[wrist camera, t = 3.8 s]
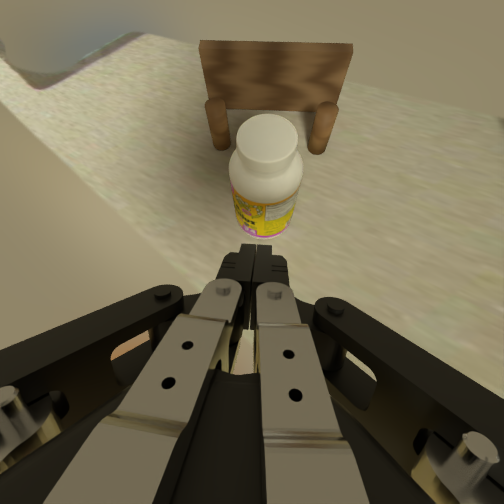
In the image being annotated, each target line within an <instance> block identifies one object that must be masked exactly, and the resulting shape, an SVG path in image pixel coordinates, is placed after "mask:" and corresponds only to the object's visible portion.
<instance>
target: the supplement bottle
mask: <svg viewBox="0 0 504 504" xmlns="http://www.w3.org/2000/svg"><path fill="white" fill-rule="evenodd" d="M236 144H237V148H236V149H235V151H234V152H233V154H232V156H231V159H230V162H229V177H230V182H231V188H232V194H233V200H234V206H235V212H236V217H237V221H238V224H239V226H240V227H241V229H242V230H243V231H244V232H245V233H246V234H248V235H249V236H251V237H254V238H257V239H271V238H274V237H277V236H278V235H280V234H281V233H283V232H284V231H285V230H286V228H287V227H288V225H289V223H290V221H291V217H292V214H293V210H294V206H295V202H296V198H297V195H298V191H299V187H300V184H301V180H302V176H303V161H302V158H301V155H300V153H299V151H298V150H297V144H298V134H297V131H296V129H295V127H294V125H293V124H292V123H291V122H290V121H288V120H287V119H286V118H284V117H282V116H279V115H275V114H260V115H256V116H253V117H251V118H249V119H248V120H246V121H245V122H244V123H243V124H242V125H241V126H240V128H239V129H238V132H237V136H236Z"/></svg>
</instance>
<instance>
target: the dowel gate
mask: <svg viewBox="0 0 504 504" xmlns="http://www.w3.org/2000/svg"><path fill="white" fill-rule="evenodd" d="M205 110H206V114H207V118H208V123H209V127H210V131H211V136H212V140H213V145H214V147H215V148H216V149H218V150H226V149H228V148H229V147H230V145H231V141H230V134H229V127H228V120H227V113H226V106H225V102H224V100H223V99H221V98H217V97H215V98H211V99H209V100H207V101H206V103H205ZM338 111H339V108H338V106H337V105H336V104H335V103H333V102H329V101H325V102H322V103H320V104H319V105H318V107H317V111H316V115H315V119H314V123H313V127H312V131H311V135H310V139H309V143H308V150H309V152H311V153H312V154H315V155H319V154H322V153H323V152H324V151H325V149H326V146H327V143H328V140H329V137H330V134H331V132H332V129H333V126H334V123H335V120H336V117H337V114H338Z"/></svg>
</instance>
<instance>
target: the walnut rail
mask: <svg viewBox="0 0 504 504" xmlns="http://www.w3.org/2000/svg"><path fill="white" fill-rule="evenodd" d="M198 49H199V54H200V58H201V63H202V68H203V73H204V78H205V83H206V88H207V92H208V97H209V99H211V98H215V97H217V98H221V99H223V100H224V102H225V106H226V109H252V110H279V111H306V112H316V111H317V107H318V105H319V104H320V103H322V102H325V101H329V102H333V103H335V104H337V101H338V98H339V95H340V92H341V89H342V86H343V82H344V79H345V76H346V73H347V70H348V67H349V64H350V61H351V58H352V54H353V44H344V43H341V44H340V43H301V42H258V41H215V40H200V44H199V48H198Z"/></svg>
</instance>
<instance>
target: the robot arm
mask: <svg viewBox="0 0 504 504" xmlns="http://www.w3.org/2000/svg"><path fill="white" fill-rule="evenodd" d="M250 313H251V320H250ZM249 321H250V330H254V343H253V362H254V363H253V372H254V373H252V374H244V375H234V374H233V371H234V367H235V363H236V359H237V355H238V351H239V347H240V338H241V336H242V332H243V329H247V330H248V329H249ZM147 330H148V332H149V338H150V340H148V341H146V342H144V343H142V344H141V345H139V346H137V347H135V348H134V349H132V350H130V351H128V352H126V353H125V354H123V355H121V356H119V357H117V358H115V359H114V360H112V361H111V359H110V358H111V354H112V352H113V351H114V349H115V348H116V347H118V346H119V345H120V344H122V343H124V342H126V341H128V340H130V339H132V338H134V337H136V336H137V335H139V334H141V333H143V332H145V331H147ZM347 351H349V352H350V353H351V354H353V355H354V356H355V357H356V358H358V359H359V360H360V361H361V362H363V363H364V364H365V365H366V366H368V367H369V368H370V369H371V370H372V372H373V373H374V375H375V377H376V380H377V382H376V381H375V380H374V379H372V378H371V377H370V376H369V375H368V374H366V373H365V372H364V371H363V370H361V369H360V368H359V367H358V366H357V365H355V364H354V363H353V362H352V361H350V360H349V359H348V358H347V357H346V353H347ZM329 394H330V395H331V396H332V397H331V396H330V395H329ZM0 504H504V399H502V398H501V397H499V396H498V395H496V394H494V393H493V392H491V391H489V390H488V389H486V388H485V387H483V386H481V385H480V384H478V383H477V382H475V381H473V380H472V379H470V378H469V377H467V376H465V375H464V374H462V373H461V372H459V371H457V370H456V369H454V368H452V367H451V366H449V365H448V364H446V363H444V362H443V361H441V360H440V359H438V358H436V357H435V356H433V355H432V354H430V353H428V352H427V351H425V350H424V349H422V348H420V347H419V346H417V345H416V344H414V343H412V342H411V341H409V340H407V339H406V338H404V337H403V336H401V335H399V334H398V333H396V332H395V331H393V330H391V329H390V328H388V327H387V326H385V325H383V324H382V323H380V322H379V321H377V320H375V319H374V318H372V317H371V316H369V315H367V314H366V313H364V312H362V311H361V310H359V309H358V308H356V307H354V306H353V305H351V304H350V303H348V302H346V301H344V300H342V299H339V298H334V297H324V298H320V299H318V300H317V301H316V303H315V305H312V304H309V303H305V302H303V301H300V300H299V299H297V298H295V297H294V293H293V291H292V289H291V288H290V286H289V277H288V268H287V261H286V259H285V258H284V257H283V256H280V255H272V245H258V244H257V251H256V244H241V248H240V251H239V253H234V252H230V253H229V254H227V255H226V256H225V257H224V259H223V262H222V264H221V268H220V269H219V272H218V274H217V277H216V279H215V280H213V281H211V282H209V283H208V284H207V285H206V286H205V288H204V290H203V291H202V293H199V294H194V295H186V296H183V291H182V289H181V288H180V287H178V286H175V285H159V286H156V287H153V288H151V289H148V290H145V291H143V292H141V293H138V294H136V295H134V296H131V297H129V298H126V299H124V300H121V301H119V302H116V303H114V304H112V305H109V306H107V307H104V308H102V309H100V310H97V311H94V312H92V313H90V314H87V315H85V316H82V317H80V318H78V319H75V320H73V321H70V322H68V323H65V324H63V325H60V326H58V327H56V328H53V329H51V330H48V331H46V332H44V333H41V334H39V335H36V336H34V337H31V338H29V339H26V340H24V341H22V342H19V343H17V344H14V345H12V346H10V347H7V348H5V349H2V350H0Z"/></svg>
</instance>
